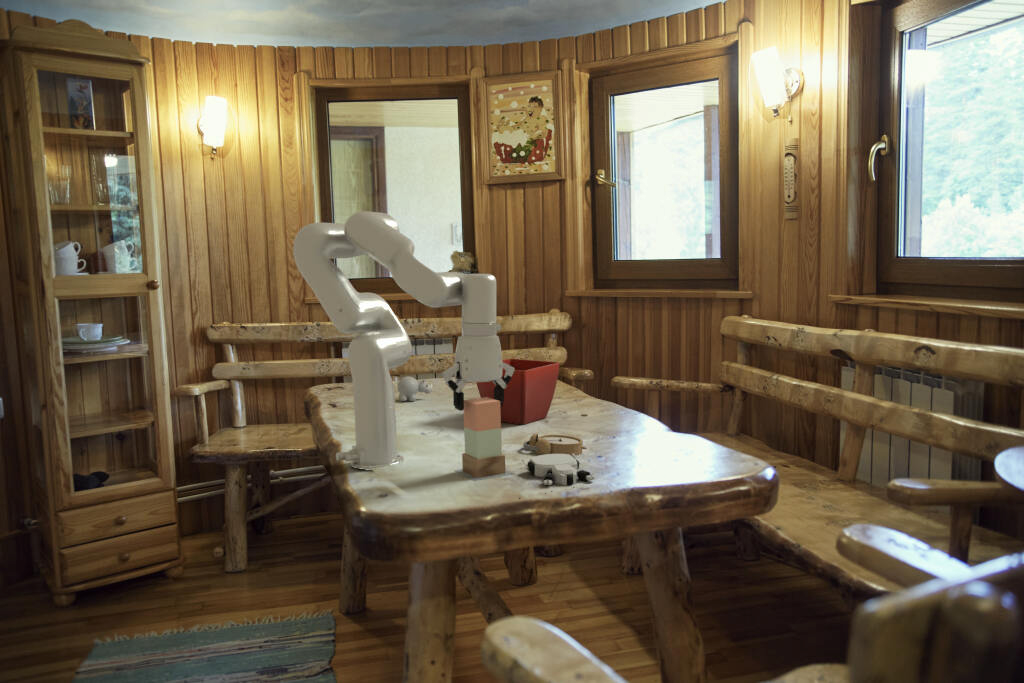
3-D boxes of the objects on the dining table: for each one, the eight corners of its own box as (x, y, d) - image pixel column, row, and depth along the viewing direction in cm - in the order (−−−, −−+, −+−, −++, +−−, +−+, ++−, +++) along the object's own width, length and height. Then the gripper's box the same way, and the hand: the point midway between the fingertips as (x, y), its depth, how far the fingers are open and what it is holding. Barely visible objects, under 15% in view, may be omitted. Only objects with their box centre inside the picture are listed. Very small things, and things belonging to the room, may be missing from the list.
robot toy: (598, 491, 165) (572, 468, 179) (598, 470, 164) (572, 449, 178) (543, 497, 161) (520, 474, 175) (543, 476, 160) (520, 454, 174)
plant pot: (524, 428, 223) (523, 370, 221) (473, 421, 235) (471, 365, 233) (562, 417, 238) (561, 362, 236) (511, 411, 250) (510, 358, 248)
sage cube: (477, 459, 170) (476, 431, 169) (465, 453, 175) (464, 427, 174) (501, 455, 173) (501, 428, 172) (488, 449, 178) (488, 423, 177)
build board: (474, 485, 168) (474, 480, 168) (453, 475, 176) (453, 470, 176) (514, 478, 173) (514, 473, 172) (493, 468, 181) (492, 464, 181)
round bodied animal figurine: (433, 401, 271) (432, 376, 270) (398, 403, 269) (397, 378, 268) (431, 397, 278) (431, 373, 277) (397, 399, 276) (396, 375, 275)
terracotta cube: (476, 431, 169) (475, 404, 169) (464, 426, 175) (463, 400, 174) (500, 428, 172) (500, 401, 172) (487, 423, 177) (487, 397, 177)
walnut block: (477, 478, 170) (476, 459, 169) (462, 471, 176) (462, 453, 175) (505, 473, 173) (505, 455, 173) (490, 466, 179) (489, 449, 179)
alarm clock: (591, 444, 191) (532, 438, 187) (588, 464, 191) (529, 459, 187) (574, 434, 202) (519, 429, 197) (571, 453, 202) (516, 448, 198)
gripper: (505, 327, 180) (505, 401, 182) (435, 330, 171) (436, 408, 173) (522, 330, 173) (521, 406, 175) (450, 333, 165) (450, 414, 167)
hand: (479, 407), depth 174 cm, fingers open, 9 cm apart
